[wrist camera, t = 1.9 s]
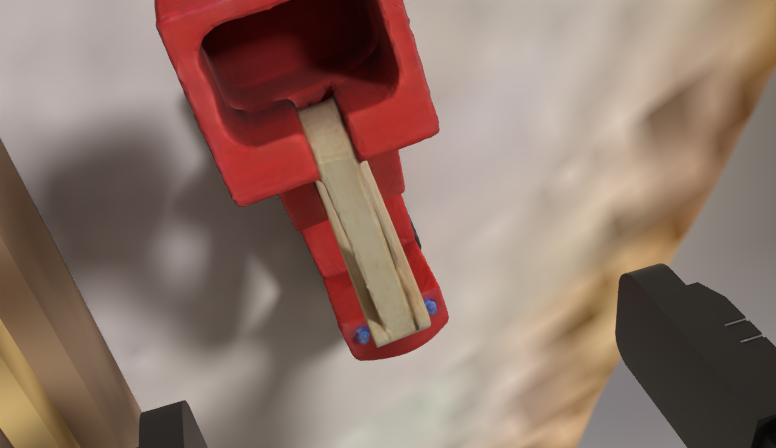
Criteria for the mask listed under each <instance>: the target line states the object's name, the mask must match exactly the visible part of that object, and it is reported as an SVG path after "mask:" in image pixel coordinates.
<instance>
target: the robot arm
mask: <svg viewBox="0 0 776 448" xmlns="http://www.w3.org/2000/svg"><path fill="white" fill-rule="evenodd" d="M615 335H616V342H617V346H618V349H619V352H620V354H621V357H622V359H623V361H624V362H625V364H626V366H627V367H628V368H629V370H630V371H631V372H632V374H633V375H634V376H635V378H636V379H637V380H638V382H639V383H640V384H641V386H642V387H643V389H644V390H645V391H646V393H647V394H648V395H649V396H650V398H651V399H652V401H653V402H654V403H655V405H656V406H657V407H658V409H659V410H660V411H661V413H662V414H663V415H664V417H665V418H666V419H667V421H668V422H669V423H670V425H671V426H672V427H673V429H674V430H675V431H676V433H677V434H678V436H679V437H680V438H681V440H682V441H683V442H684V444H685V445H686V446H687V448H776V347H775V346H774V345H773V344H772V343H771V342H770V341H769V340H768V339H767V338H766V337H765V338H764V337H763V336H762V333H761V332H760V331H759V330H758V329H757V328H756V327H755V326H754V325H753V324H752V323H751V322H750V321H746V318H745V316H744V315H743V314H742V313H741V312H740V311H739V310H738V309H737V308H736V307H735V306H734V305H733V304H732V303H731V302H730V301H729V300H728V299H727V298H726V297H725V296H723V295H721V294H719V293H717V292H715V291H713V290H711V289H709V288H708V287H705V286H704V285H702V284H700V283H698V282H697V283H693V284H690V285H685V283H684V282H683V281H682V280H681V279H680V278H679V277H678V276H677V275H676V274H675V273H674V272H673V271H672V270H671V269H670V268H669V267H668V266H666V265H665V264H661V263H660V264H656V265H653V266H649V267H646V268H642V269H639V270H636V271H632V272H629V273H625V274H623V275H621V277H620V280H619V288H618V302H617V316H616V330H615ZM136 448H208V447H207V445H206V443H205V441H204V438H203V436H202V434H201V432H200V429H199V427H198V425H197V423H196V420H195V418H194V416H193V414H192V411H191V409H190V407H189V405H188V403H187V402H186V401H185V400H184V401H180V402H177V403H173V404H170V405H167V406H163V407H160V408H156V409H153V410H149V411H146V412H142V413H141V414H140V418H139V447H136Z"/></svg>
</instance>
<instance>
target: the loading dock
mask: <svg viewBox="0 0 776 448" xmlns="http://www.w3.org/2000/svg"><path fill="white" fill-rule="evenodd" d="M141 413H142V412H141V410H140V408H139V406H138V404H137V402H136V400H135V398H134V396H133V394H132V392H131V391H130V389H129V387H128V385H127V383H126V381H125V379H124V377H123V375H122V373H121V371H120V369H119V367H118V365H117V363H116V361H115V360H114V358H113V356H112V354H111V352H110V350H109V348H108V346H107V344H106V342H105V340H104V338H103V336H102V334H101V332H100V330H99V329H98V327H97V325H96V323H95V321H94V319H93V317H92V315H91V313H90V311H89V309H88V307H87V305H86V303H85V301H84V299H83V298H82V296H81V294H80V292H79V290H78V288H77V286H76V284H75V282H74V280H73V278H72V276H71V274H70V272H69V270H68V268H67V267H66V265H65V263H64V261H63V259H62V257H61V255H60V253H59V251H58V249H57V247H56V245H55V243H54V241H53V239H52V238H51V236H50V234H49V232H48V230H47V228H46V226H45V224H44V222H43V220H42V218H41V216H40V214H39V212H38V210H37V208H36V207H35V205H34V203H33V201H32V199H31V197H30V195H29V193H28V191H27V189H26V187H25V185H24V183H23V181H22V179H21V177H20V176H19V174H18V172H17V170H16V168H15V166H14V164H13V162H12V160H11V158H10V156H9V154H8V152H7V150H6V148H5V146H4V145H3V143H2V141H1V139H0V448H136V447H139V418H140V414H141Z"/></svg>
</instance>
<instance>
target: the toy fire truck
mask: <svg viewBox="0 0 776 448" xmlns="http://www.w3.org/2000/svg"><path fill="white" fill-rule="evenodd" d="M155 13H156V28H157V30H158V32H159V35H160V37H161V39H162V42H163V44H164V46H165V48H166V51H167V53H168V56H169V59H170V61H171V63H172V65H173V67H174V69H175V71H176V74H177V77H178V79H179V82H180V84H181V86H182V88H183V91H184V94H185V97H186V98H187V100H188V102H189V104H190V106H191V108H192V110H193V112H194V117H195V119H196V121H197V123H198V125H199V128H200V130H201V132H202V134H203V136H204V138H205V140H206V142H207V144H208V146H209V148H210V151H211V153H212V155H213V157H214V160H215V162H216V165H217V167H218V169H219V171H220V173H221V175H222V177H223V180H224V183H225V184H226V186H227V188H228V191H229V193H230V195H231V197H232V199H233V200H234V201H235V203H236V204H237V205H238V206H239V207H243V206H247V205H250V204H253V203H256V202H258V201H261V200H264V199H266V198H269V197H272V196H275V195H279V196H280V198H281V201H282V202H283V205H284V206H285V208H286V211H287V213H288V215H289V217H290V219H291V221H292V223H293V225H294V228H295V230H297V231H300V232H301V234H302V236H303V238H304V240H305V242H306V244H307V247H308V248H309V251H310V253H311V255H312V257H313V260H314V262H315V264H316V266H317V269H318V271H319V273H320V274H321V276H322V278H323V281H324V284H325V286H326V290H327V292H328V295H329V300H330V302H331V304H332V308H333V310H334V313H335V316H336V319H337V323H338V327H339V329H340V331H341V332H342V335H343V337H344V339H345V341H346V343H347V345H348V347H349V349H350V351H351V353H352V355H353V356H354V357H355V358H356V359H358V360H360V361H365V360H378V359H386V358H391V357H395V356H400V355H403V354H406V353H409V352H411V351H413V350H415V349H417V348H419V347H420V346H422V345H424V344H425V343H427V342H428V341H429V340H431V339H432V338H433V337H434V336H435V335H436V334H437V333H438V332H439V331H440V330H441V329H442V328H443V327H444V326H445V324H446V323H447V322H448V319H449V316H448V312H447V308H446V305H445V301H444V299H443V296H442V293H441V290H440V287H439V285H438V283H437V281H436V279H435V277H434V275H433V273H432V272H431V270H430V267H429V266H428V264H427V262H426V260H425V258H424V256H423V254H422V252H421V244H420V241H419V238H418V236H417V233H416V230H415V228H414V226H413V223H412V221H411V219H410V216H409V215H408V212H407V210H406V207H405V204H404V201H403V198H402V196H401V193H403V192H404V189H405V185H404V179H403V173H402V168H401V163H400V156H399V151H398V150H399V149H401V148H404V147H407V146H409V145H412V144H415V143H418V142H420V141H422V140H424V139H427V138H430V137H432V136H434V135H436V134H437V133H438V132H439V130H440V129H439V125H438V124H439V121H438V117H437V114H436V111H435V108H434V106H433V103H432V100H431V97H430V90H429V87H428V85H427V82H426V78H425V74H424V71H423V66H422V63H421V59H420V57H419V54H418V51H417V47H416V43H415V38H414V35H413V33H412V31H411V29H410V26H409V23H410V19H409V18H408V16H407V13H406V10H405V6H404V3H403V0H155Z"/></svg>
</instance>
